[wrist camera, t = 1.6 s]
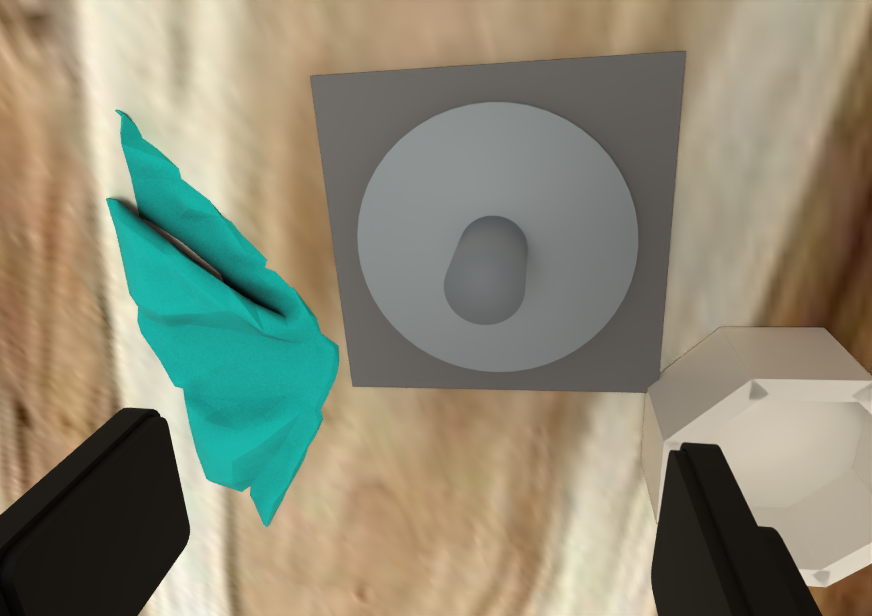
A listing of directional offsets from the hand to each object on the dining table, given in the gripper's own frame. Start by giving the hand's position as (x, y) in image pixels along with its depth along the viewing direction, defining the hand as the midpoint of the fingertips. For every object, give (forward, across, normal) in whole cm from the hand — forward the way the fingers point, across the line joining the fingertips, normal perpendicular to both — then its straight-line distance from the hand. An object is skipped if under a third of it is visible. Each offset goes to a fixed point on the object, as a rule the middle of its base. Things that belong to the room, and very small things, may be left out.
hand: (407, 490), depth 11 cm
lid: (+20, -1, +1) cm, 20 cm away
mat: (+20, -1, +1) cm, 20 cm away
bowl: (+20, -14, +10) cm, 26 cm away
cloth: (+21, +14, +8) cm, 27 cm away
